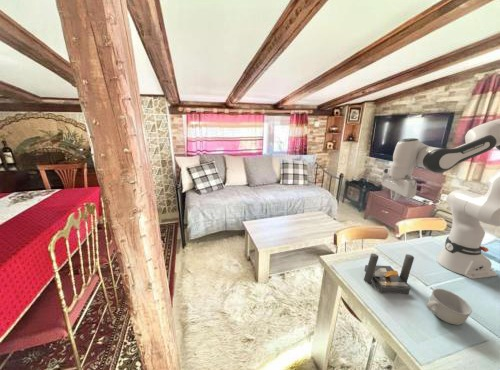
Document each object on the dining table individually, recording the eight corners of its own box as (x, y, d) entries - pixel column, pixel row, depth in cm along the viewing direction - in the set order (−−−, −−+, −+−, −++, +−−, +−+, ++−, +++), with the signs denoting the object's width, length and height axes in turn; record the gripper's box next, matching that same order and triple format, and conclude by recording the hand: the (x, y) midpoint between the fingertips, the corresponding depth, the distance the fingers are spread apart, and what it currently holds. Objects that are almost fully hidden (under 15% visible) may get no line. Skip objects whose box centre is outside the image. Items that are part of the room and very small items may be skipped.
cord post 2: (403, 279, 95) (410, 254, 91) (408, 284, 92) (415, 258, 88) (397, 279, 95) (404, 254, 91) (401, 284, 92) (408, 258, 88)
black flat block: (388, 270, 100) (390, 265, 99) (408, 293, 87) (410, 287, 86) (364, 270, 101) (365, 264, 100) (380, 292, 87) (381, 286, 86)
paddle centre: (388, 273, 93) (397, 270, 88) (389, 277, 92) (398, 274, 87) (383, 273, 93) (391, 270, 88) (384, 277, 92) (392, 274, 87)
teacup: (448, 305, 82) (454, 289, 79) (473, 331, 71) (481, 314, 69) (411, 302, 83) (416, 286, 80) (431, 327, 73) (438, 310, 70)
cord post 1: (369, 278, 95) (376, 253, 91) (372, 283, 92) (379, 258, 88) (362, 277, 96) (369, 253, 91) (365, 282, 93) (372, 257, 88)
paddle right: (378, 273, 93) (385, 268, 88) (379, 277, 92) (387, 272, 87) (373, 273, 93) (380, 268, 88) (374, 276, 92) (381, 271, 87)
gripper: (424, 178, 86) (416, 208, 90) (393, 168, 106) (388, 193, 110) (409, 178, 86) (401, 208, 90) (381, 168, 106) (376, 192, 110)
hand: (394, 199), depth 100 cm, fingers closed
